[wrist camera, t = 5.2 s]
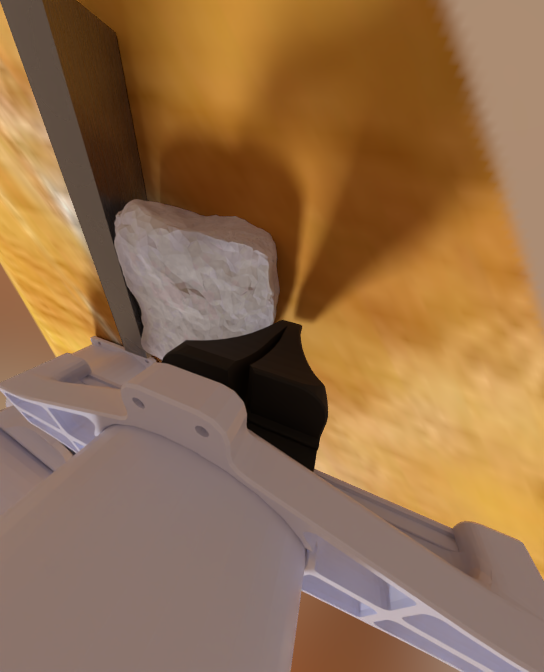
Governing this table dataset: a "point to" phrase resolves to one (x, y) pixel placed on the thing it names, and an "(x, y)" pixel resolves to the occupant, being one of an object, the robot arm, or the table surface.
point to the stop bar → (86, 131)
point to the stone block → (195, 274)
